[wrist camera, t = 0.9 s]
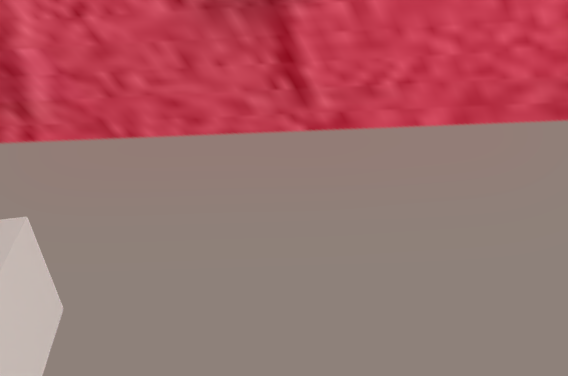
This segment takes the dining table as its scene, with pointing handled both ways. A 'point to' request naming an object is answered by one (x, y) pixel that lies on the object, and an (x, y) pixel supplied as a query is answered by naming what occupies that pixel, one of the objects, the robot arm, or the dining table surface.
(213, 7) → the dining table surface
